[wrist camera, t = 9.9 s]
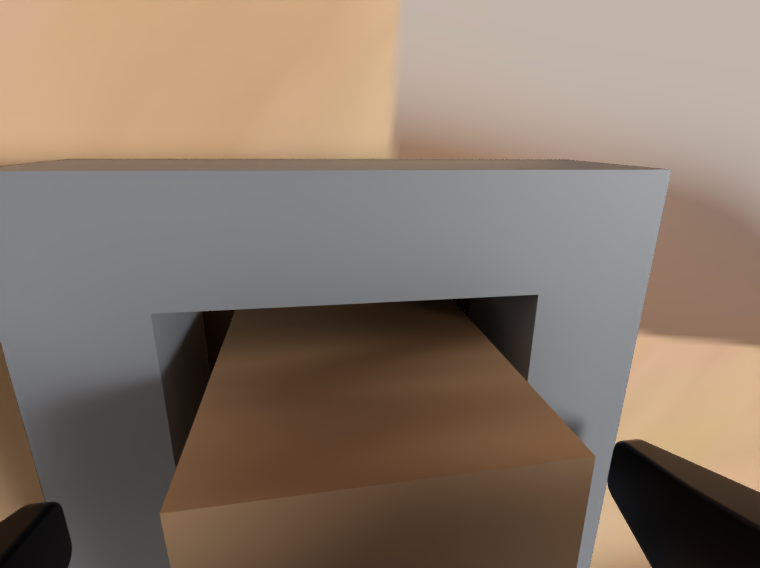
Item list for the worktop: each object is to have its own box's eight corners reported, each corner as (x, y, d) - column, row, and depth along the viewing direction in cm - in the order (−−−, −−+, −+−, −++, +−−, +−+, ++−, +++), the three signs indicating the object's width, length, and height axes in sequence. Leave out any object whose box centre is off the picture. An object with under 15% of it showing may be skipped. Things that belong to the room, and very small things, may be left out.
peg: (436, 283, 10) (594, 455, 5) (431, 442, 12) (550, 720, 6) (240, 295, 10) (159, 513, 4) (259, 462, 11) (218, 795, 6)
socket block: (566, 159, 10) (671, 169, 7) (518, 517, 13) (578, 621, 10) (69, 158, 8) (-47, 172, 6) (150, 565, 11) (102, 704, 9)
